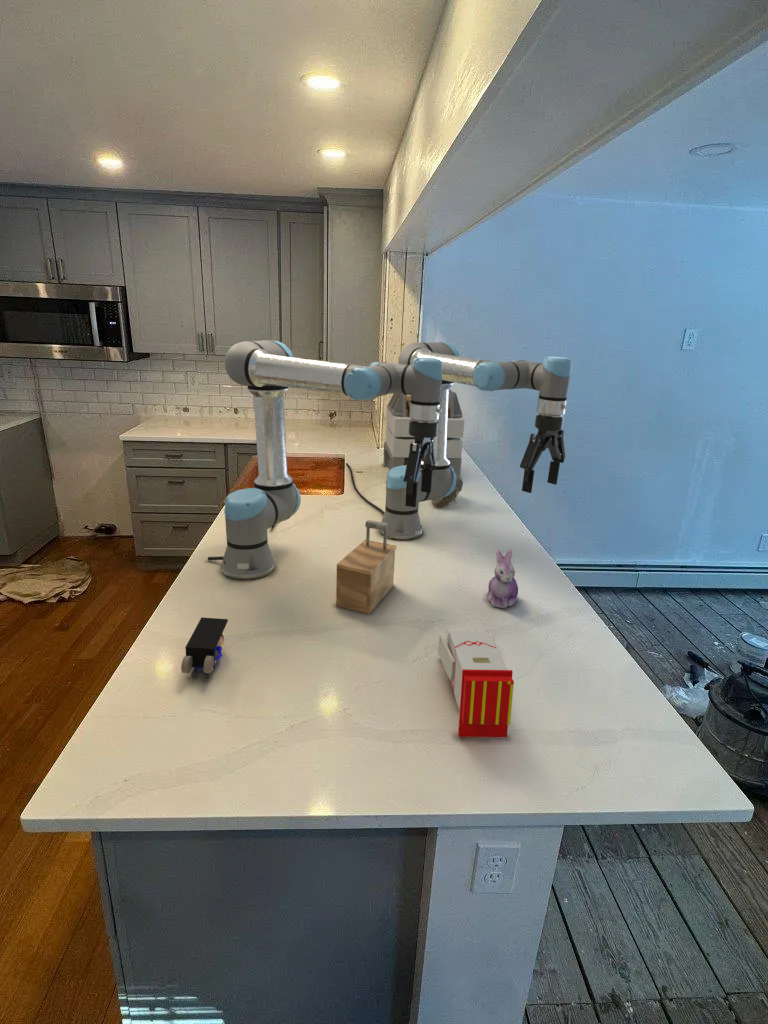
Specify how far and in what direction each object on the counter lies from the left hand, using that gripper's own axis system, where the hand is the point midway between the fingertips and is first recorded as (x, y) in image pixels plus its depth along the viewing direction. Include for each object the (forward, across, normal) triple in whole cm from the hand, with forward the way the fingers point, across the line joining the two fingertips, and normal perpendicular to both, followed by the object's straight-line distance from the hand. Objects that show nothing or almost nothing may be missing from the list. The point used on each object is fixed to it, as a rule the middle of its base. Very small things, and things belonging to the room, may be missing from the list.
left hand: (418, 498), depth 153 cm
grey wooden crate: (+27, +116, +34) cm, 124 cm away
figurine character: (+27, -54, +30) cm, 67 cm away
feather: (+27, +31, +62) cm, 75 cm away
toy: (+27, -39, -26) cm, 54 cm away
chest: (+27, -10, +10) cm, 30 cm away
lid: (+16, -9, +10) cm, 21 cm away
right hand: (-1, +25, -29) cm, 38 cm away
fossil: (+27, +80, +12) cm, 85 cm away
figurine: (+27, +3, -25) cm, 37 cm away
